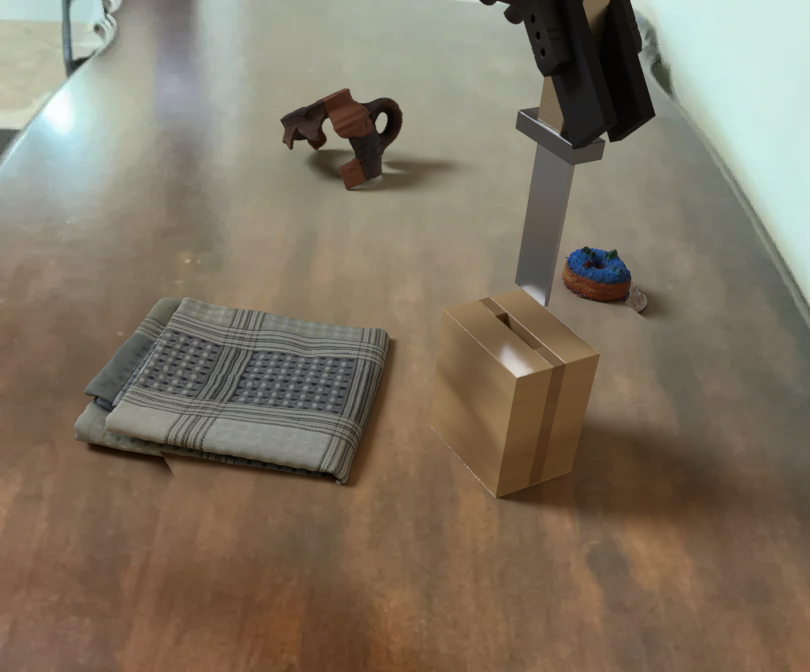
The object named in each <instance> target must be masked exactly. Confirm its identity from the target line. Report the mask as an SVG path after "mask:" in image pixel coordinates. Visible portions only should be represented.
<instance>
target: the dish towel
mask: <svg viewBox="0 0 810 672" xmlns="http://www.w3.org/2000/svg"><path fill="white" fill-rule="evenodd" d="M390 344H391V337H390V335H389V334H388V332H387V330H385V329H384V328H382V327H381V328H380V327H377V328H376V327H362V326H348V325H339V324H332V323H324V322H320V321H309V320H303V319H297V318H293V317H288V316H284V315H280V314H275V313H270V312H267V311H262V310H261V311H260V310H255V309H244V308H236V307H229V306H224V305H218V304H213V303H210V302H209V303H208V302H205V301H203V300H199V299H195V298H193V297H189V296H188V297H187V296H184V297H183V299H179V298H176V297H172V296H165V297H164V298H160V299H159V300H158V302H157V303H155V304H154V305H153V307H152V309H151V310H150V311H149V312H148V314H147V315H145V318H144V320H143V321H142V322H141V323H140V324H139V325H138V327H137V329H136V330H135V331H134V332H133V333H132V335H130V337H128V338H127V339H126V340H125V341H124V343H122V345H120V346H119V347H118V348H117V350H116V352H115V353H114V354H113V356H112V357H111V359H110V360H108V362H107V363H106V364H105V365H104V366H103V367H102V368H101V370H100V371H99V372H98V373H97V374H96V375H95V376H94V377H93V378H92V379H91V380H90V382H89V383H88V384H87V385H86V387H85V389H84V390H83V392H84V394H85V395H86V396H88V397H93V399H92V400H91V401H90V402H89V403H88V404H87V405H86V407H85V409H84V411H83V412H82V413H81V414H79V416H78V417H77V419H76V421H75V423H74V425H73V428H74V431H75V435H74V440H75V441H77V442H81V443H85V444H93V445H98V446H103V447H107V448H111V449H116V450H120V451H125V452H132V453H138V454H143V455H144V454H145V455H151V456H157V457H160V458H161V457H162V458H163V457H164V456H163V454H162V453H167V454H176V455H178V456H179V455H180V456H183V457H184V456H187V457H193V458H197V459H204V460H211V461H214V462H215V461H216V462H219V463H224V464H225V463H226V464H231V465H239V466H247V467H254V468H261V469H267V470H275V471H281V472H284V473H285V472H286V473H292V474H296V475H303V476H304V475H306V476H309V477H320V478H323V479H327V478H328V477H329V476H330V474H331V475H333V476H334V477H335V478H334V482H335V484H337V485H339V486H343V485H346V483H347V482H348V479H349V475H350V469H351V467H352V463H353V461H354V460H355V459H354V458H355V456H356V452H357V450H358V447H359V444H360V441H361V439H362V436H363V434H364V432H365V429H366V427H367V423H368V422H369V417H370V415H371V410H372V408H373V404H374V400H375V398H376V394H377V392H378V388H379V385H380V383H381V379H382V378H383V372H384V369H385V365H386V363H387V359H388V355H389V348H390Z"/></svg>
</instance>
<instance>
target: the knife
mask: <svg viewBox="0 0 810 672" xmlns="http://www.w3.org/2000/svg"><path fill="white" fill-rule="evenodd" d="M581 1H582V4H583V6H584V10H585V13H586V16H587V20H588V23H589V26H590V30H591V33H592V36H593V40H594V43H595V47H596V50H597V53H598V57H599V54H600V49H601V43H602V38H603V33H604V28H605V23H606V18H607V12H608V7H609V2H610V0H581ZM515 130H517V131H518V132H521V133H522V134H523V135H524V136H526V137H527V138H529V139H530V140H532V141H534V142H535V143H536V148H535V154H534V160H533V161H534V162H533V168H532V172H531V173H532V175H531V180H530V186H529V193H528V198H527V203H526V204H527V205H526V210H525V216H524V224H523V230H522V235H521V242H520V249H519V253H518V261H517V266H516V273H515V279H514V284H516V285H517V286H518V287H519V288H520V289H523V290H524V291H525V292H527V293H528V294H529V295H530V296H531V297H533V298H534V299H535V300H536V301H537V302H539V303H540V304H541V305H542V306H543V307H545V308H546V307H549V304H550V300H551V299H550V298H551V293H552V289H553V288H552V287H553V283H554V279H555V278H554V277H555V272H556V267H557V262H558V256H559V252H560V247H561V241H562V237H563V231H564V226H565V221H566V216H567V215H566V214H567V210H568V204H569V199H570V194H571V189H572V183H573V179H574V174H575V173H574V172H575V168H576V165H581V164H587V163H591V162H596V161H601V160H603V157H604V151H605V147H606V140H605V139H604V138H602V137H601V136H600V137H598V138H597V139H596V140H594V141H593V142H592V143H590V144H589V145H588V146H586V147H585V148H580V149H574V150H573V148H572V145H571V142H570V138H569V135H568V132H567V128H566V125H565V122H564V118H563V115H562V112H561V108H560V105H559V102H558V98H557V95H556V92H555V89H554V85H553V82H552V79H551V76H550V77H543V81H542V89H541V96H540V102H539V106H534V107H528V108H523V109H518V110H517V114H516V122H515Z"/></svg>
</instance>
